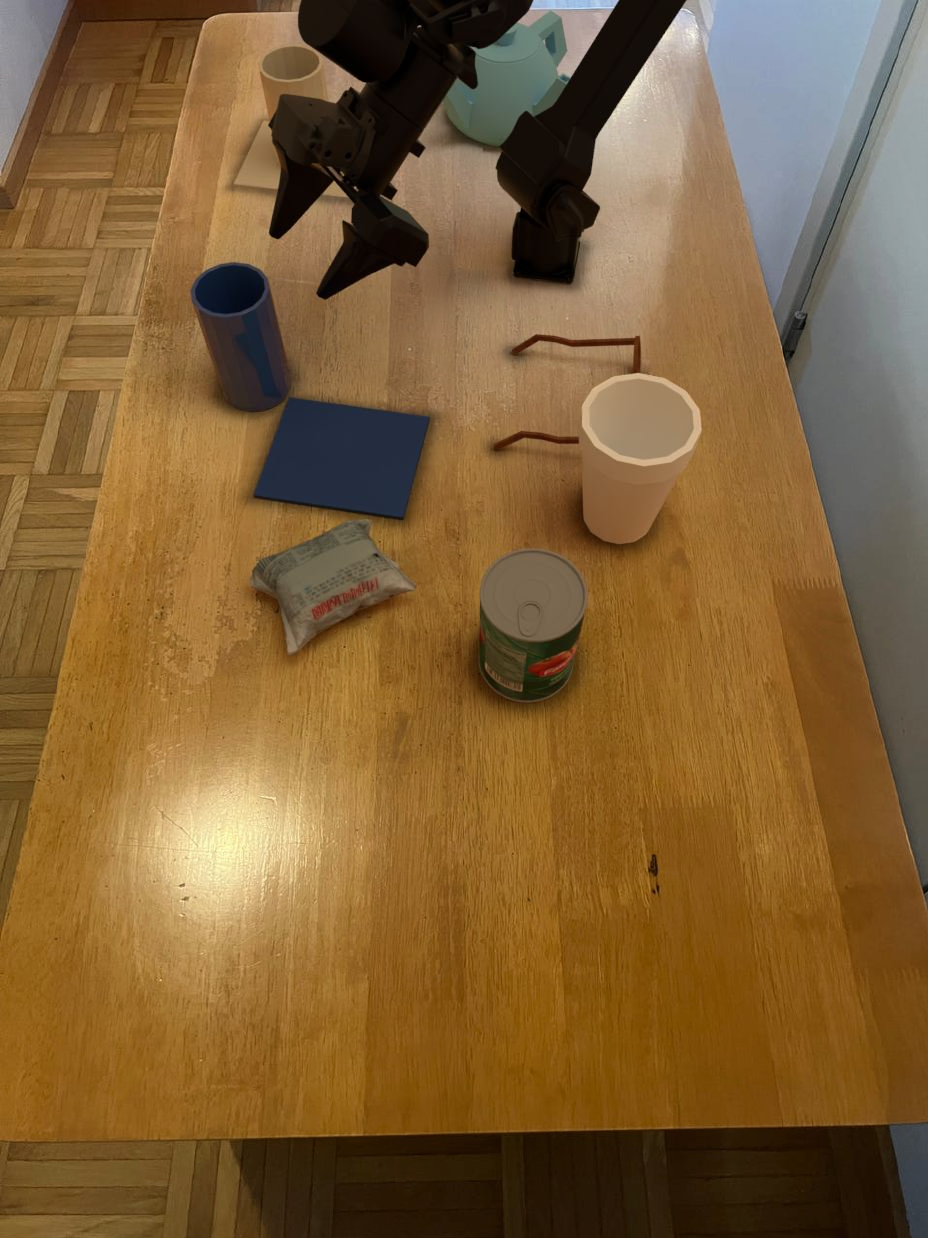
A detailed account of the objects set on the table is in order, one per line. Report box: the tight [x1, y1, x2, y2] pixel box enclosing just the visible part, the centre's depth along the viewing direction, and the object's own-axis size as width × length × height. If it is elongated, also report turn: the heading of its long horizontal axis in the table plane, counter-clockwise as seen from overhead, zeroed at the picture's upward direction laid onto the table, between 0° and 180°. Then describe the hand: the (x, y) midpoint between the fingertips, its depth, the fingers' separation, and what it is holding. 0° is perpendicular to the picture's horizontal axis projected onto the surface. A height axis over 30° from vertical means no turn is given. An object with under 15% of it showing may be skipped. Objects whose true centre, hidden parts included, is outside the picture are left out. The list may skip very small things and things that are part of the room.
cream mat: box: [233, 120, 357, 199], centre depth 109 cm, size 14×12×1 cm
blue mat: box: [253, 396, 431, 520], centre depth 87 cm, size 14×12×1 cm
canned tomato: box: [477, 547, 589, 704], centre depth 72 cm, size 8×8×11 cm
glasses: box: [493, 333, 642, 451], centre depth 88 cm, size 13×13×5 cm
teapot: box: [442, 10, 571, 148], centre depth 108 cm, size 15×15×11 cm
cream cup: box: [258, 43, 330, 168], centre depth 104 cm, size 7×7×11 cm
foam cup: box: [578, 372, 703, 545], centre depth 78 cm, size 10×9×13 cm
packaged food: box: [249, 518, 417, 656], centre depth 78 cm, size 9×12×5 cm
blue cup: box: [190, 261, 293, 413], centre depth 87 cm, size 7×7×12 cm
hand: (296, 266), depth 83 cm, fingers open, 9 cm apart
